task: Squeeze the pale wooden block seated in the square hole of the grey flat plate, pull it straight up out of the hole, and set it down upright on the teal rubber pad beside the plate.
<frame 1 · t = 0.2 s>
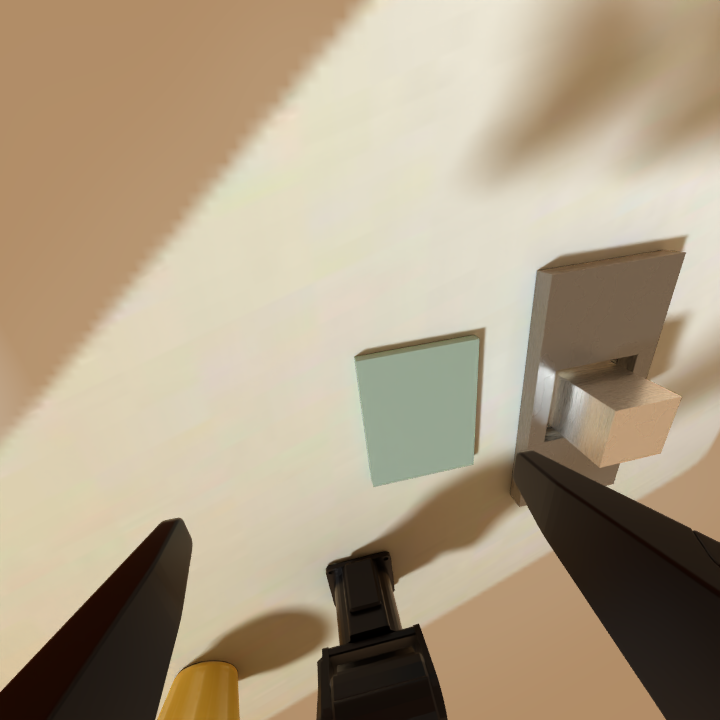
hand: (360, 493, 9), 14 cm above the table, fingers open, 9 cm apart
plant pot: (208, 673, 37), on the table
pale wooden block: (574, 390, 28), resting in grey flat plate
grey flat plate: (575, 391, 28), on the table
teal pad: (418, 413, 26), on the table
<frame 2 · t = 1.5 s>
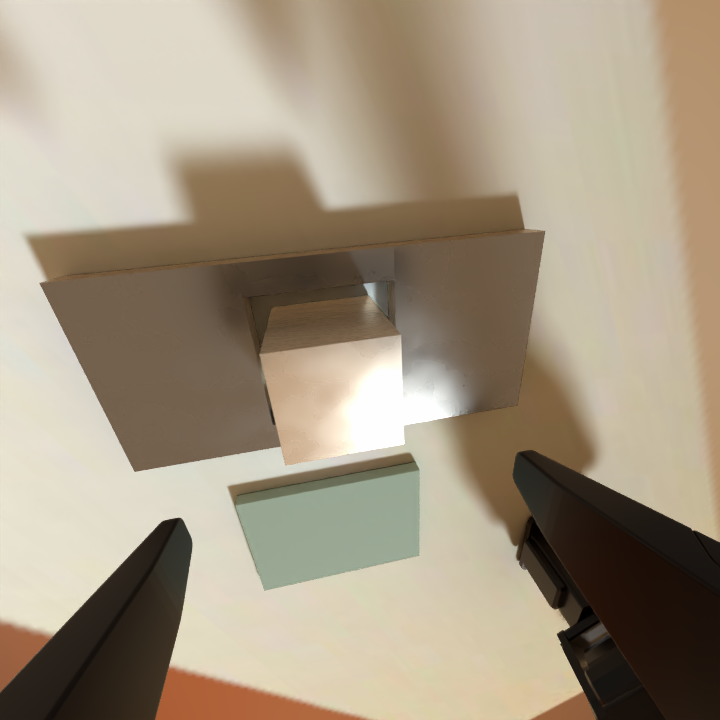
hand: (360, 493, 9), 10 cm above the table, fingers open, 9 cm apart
pale wooden block: (327, 345, 18), resting in grey flat plate
grey flat plate: (327, 346, 18), on the table
teal pad: (336, 523, 24), on the table
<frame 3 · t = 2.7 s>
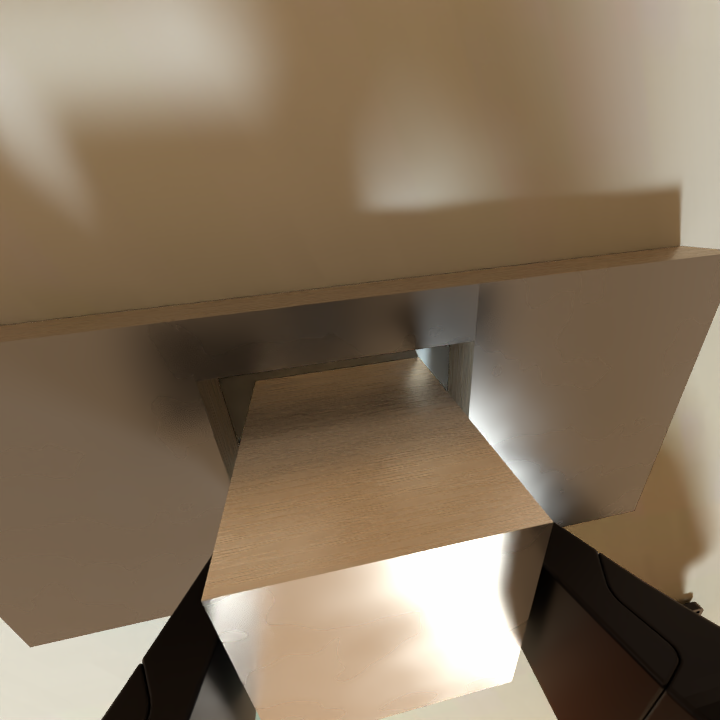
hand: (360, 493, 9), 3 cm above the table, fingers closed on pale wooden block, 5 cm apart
pale wooden block: (347, 434, 11), resting in grey flat plate, touching gripper
grey flat plate: (347, 435, 11), on the table
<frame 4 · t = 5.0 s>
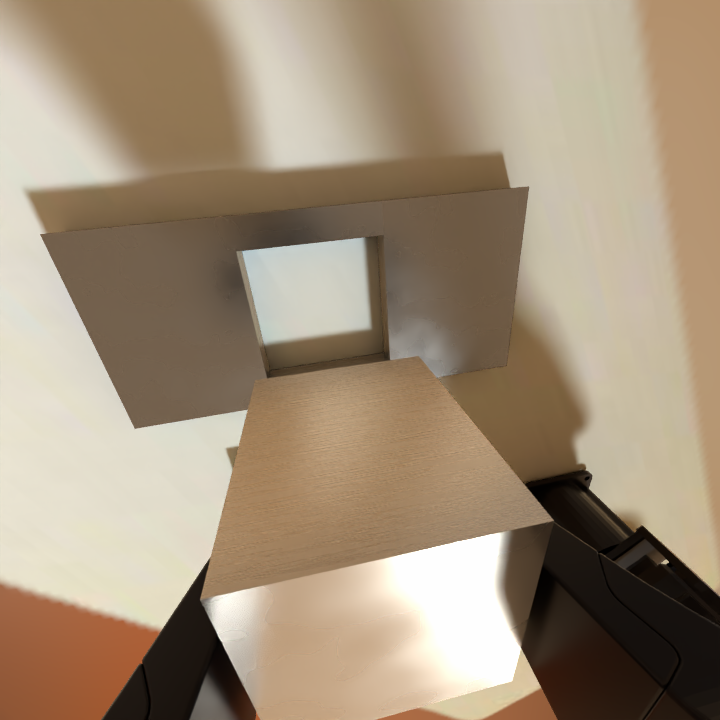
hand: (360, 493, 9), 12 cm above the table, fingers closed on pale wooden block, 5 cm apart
pale wooden block: (347, 433, 11), point 9 cm above the table, touching gripper
grey flat plate: (320, 305, 18), on the table
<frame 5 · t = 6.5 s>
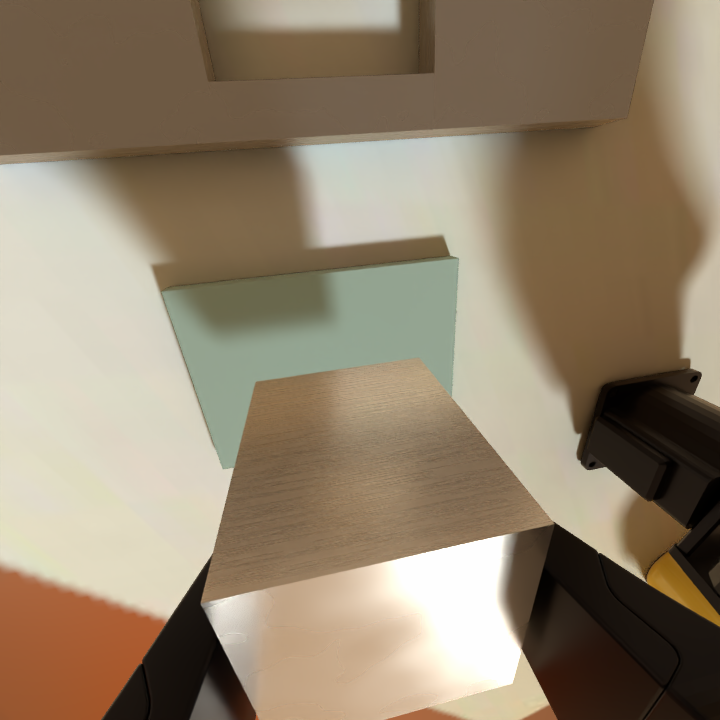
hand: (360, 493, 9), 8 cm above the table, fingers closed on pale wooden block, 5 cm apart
plant pot: (674, 560, 31), on the table
pale wooden block: (347, 435, 11), point 5 cm above the table, touching gripper
teal pad: (329, 364, 16), on the table
when the fingers open (4 cm above the table, at t = 7.5 s): pale wooden block drops 1 cm, resting on teal pad.
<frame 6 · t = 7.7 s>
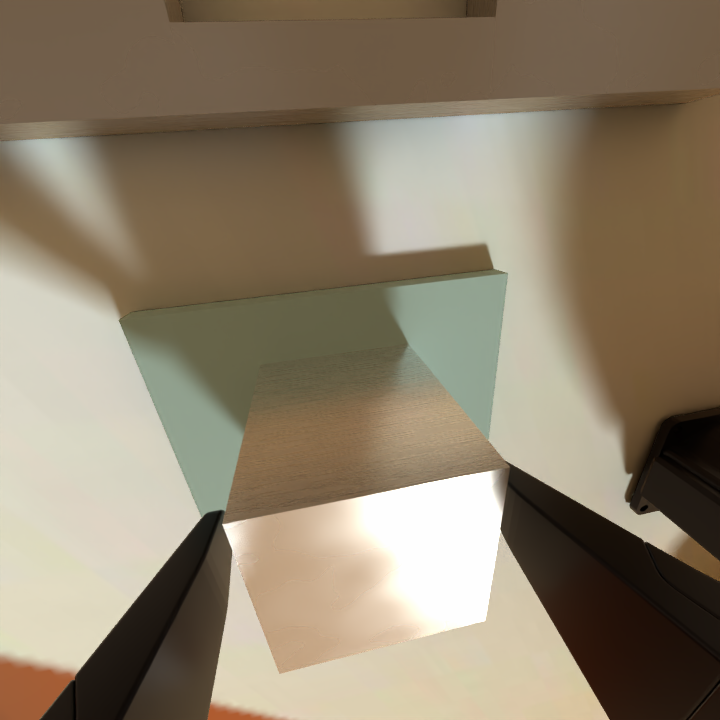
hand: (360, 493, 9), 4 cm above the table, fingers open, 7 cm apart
pale wooden block: (343, 415, 12), point 1 cm above the table, touching teal pad
teal pad: (339, 403, 13), on the table
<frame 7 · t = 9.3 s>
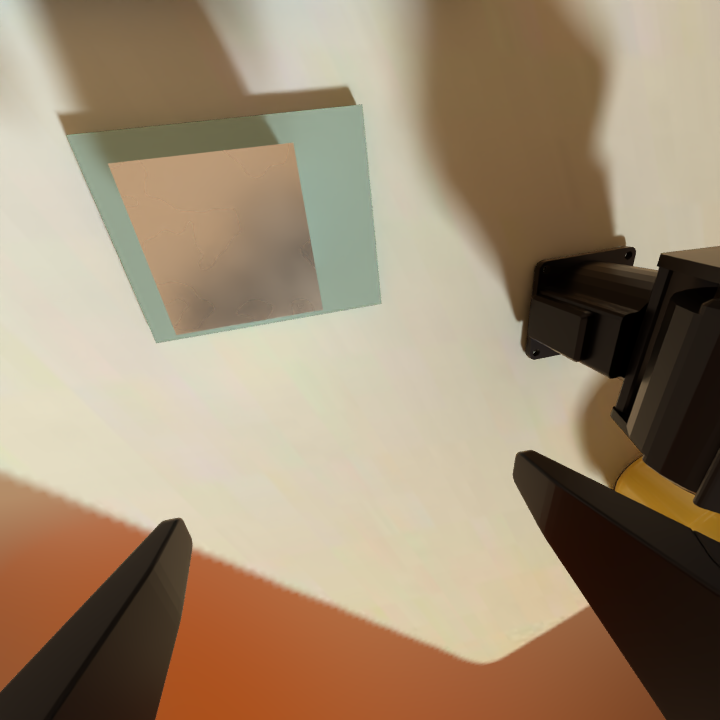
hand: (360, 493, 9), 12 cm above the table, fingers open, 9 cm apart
plant pot: (642, 475, 31), on the table
pale wooden block: (251, 233, 15), point 1 cm above the table, touching teal pad
teal pad: (252, 232, 16), on the table
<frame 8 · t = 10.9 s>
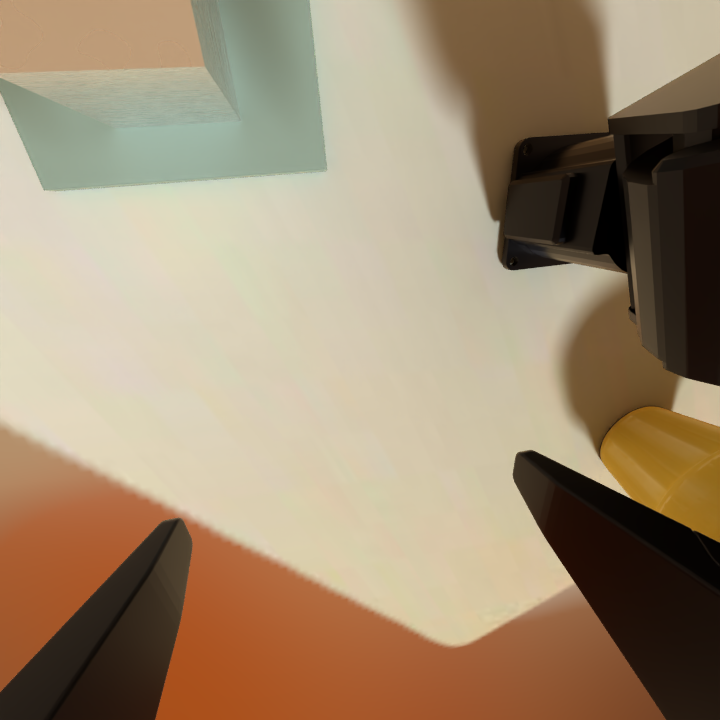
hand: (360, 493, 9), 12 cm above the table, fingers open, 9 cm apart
plant pot: (631, 435, 28), on the table
pale wooden block: (158, 45, 12), point 1 cm above the table, touching teal pad
teal pad: (164, 54, 13), on the table
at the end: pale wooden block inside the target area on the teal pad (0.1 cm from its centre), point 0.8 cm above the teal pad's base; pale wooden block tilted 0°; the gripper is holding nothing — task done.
